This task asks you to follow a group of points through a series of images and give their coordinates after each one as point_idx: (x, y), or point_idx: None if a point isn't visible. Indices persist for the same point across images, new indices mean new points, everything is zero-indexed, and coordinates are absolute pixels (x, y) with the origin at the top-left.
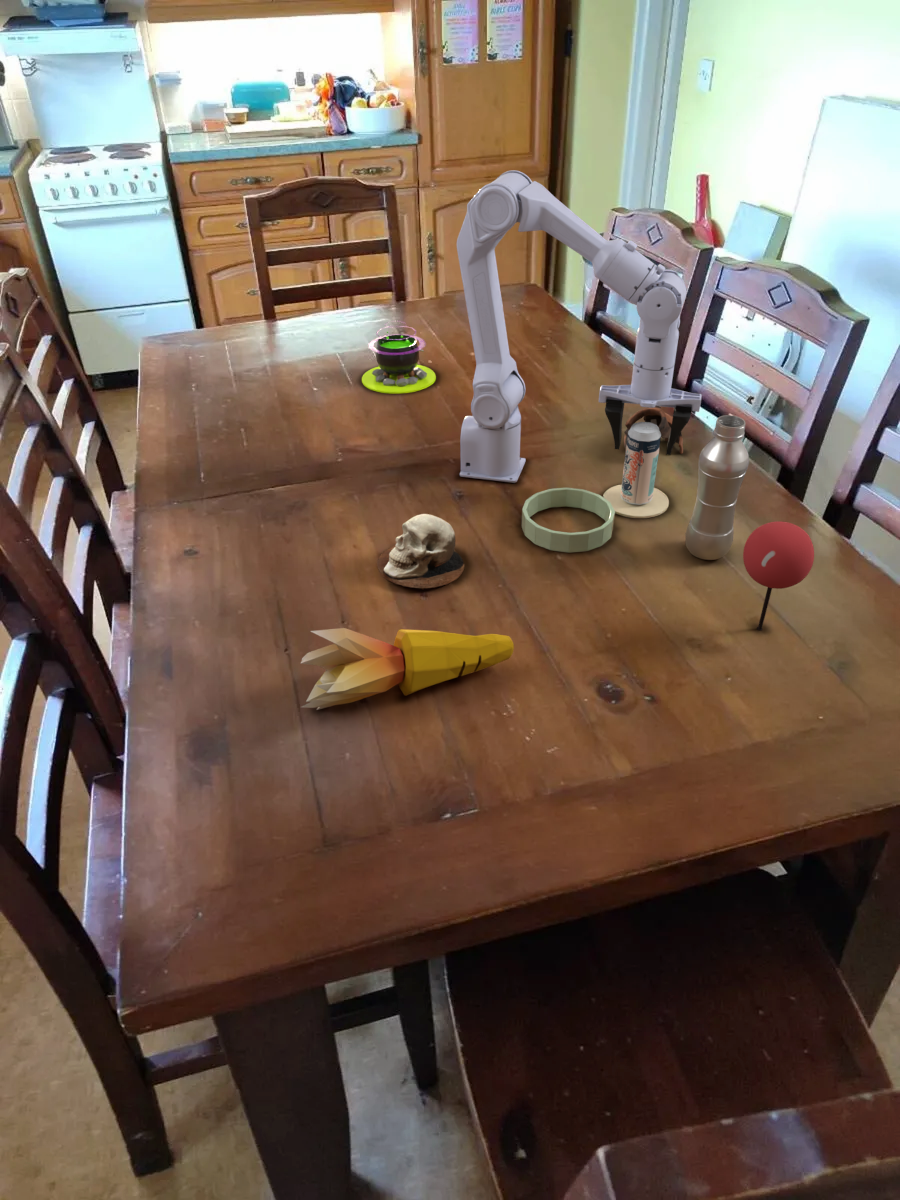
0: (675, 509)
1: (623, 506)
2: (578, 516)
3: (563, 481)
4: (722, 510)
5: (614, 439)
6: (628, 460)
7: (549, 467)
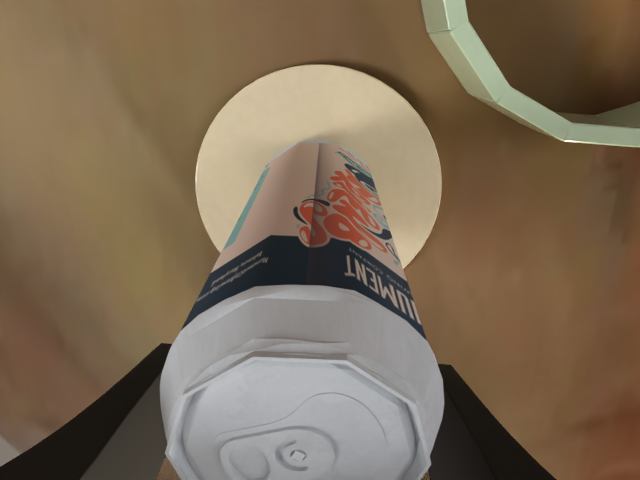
0: (170, 160)
1: (364, 135)
2: (551, 40)
3: (569, 291)
4: None
5: (483, 404)
6: (389, 237)
7: (601, 367)
